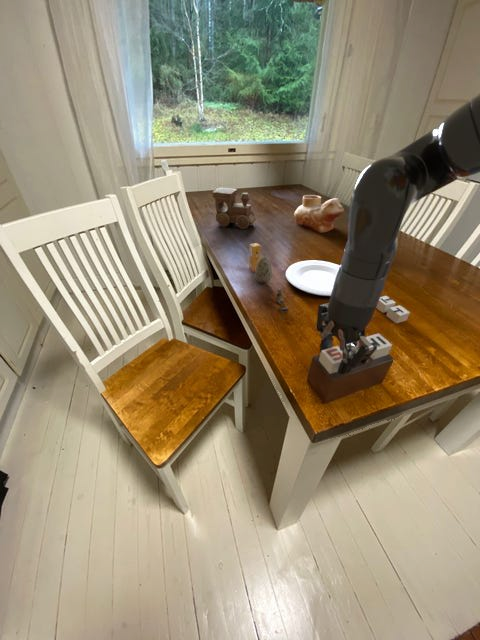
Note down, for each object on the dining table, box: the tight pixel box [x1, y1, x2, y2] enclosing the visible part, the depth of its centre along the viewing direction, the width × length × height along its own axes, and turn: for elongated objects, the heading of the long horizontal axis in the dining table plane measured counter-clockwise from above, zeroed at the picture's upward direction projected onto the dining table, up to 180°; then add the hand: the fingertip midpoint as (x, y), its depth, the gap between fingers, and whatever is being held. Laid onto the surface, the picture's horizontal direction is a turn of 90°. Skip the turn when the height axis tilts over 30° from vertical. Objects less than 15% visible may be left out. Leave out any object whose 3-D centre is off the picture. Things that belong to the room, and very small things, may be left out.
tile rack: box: [306, 353, 395, 405], centre depth 61 cm, size 7×16×8 cm, turn 111°
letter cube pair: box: [376, 295, 411, 324], centre depth 83 cm, size 10×4×3 cm, turn 21°
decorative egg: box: [254, 256, 273, 284], centre depth 94 cm, size 6×6×10 cm
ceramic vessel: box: [293, 194, 345, 234], centre depth 138 cm, size 14×26×15 cm, turn 41°
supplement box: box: [248, 242, 262, 273], centre depth 102 cm, size 3×4×10 cm
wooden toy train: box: [212, 187, 257, 230], centre depth 138 cm, size 20×11×17 cm, turn 72°
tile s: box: [319, 345, 343, 374], centre depth 56 cm, size 4×4×3 cm
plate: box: [285, 259, 340, 297], centre depth 98 cm, size 25×25×2 cm
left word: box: [347, 332, 393, 361], centre depth 58 cm, size 4×10×3 cm, turn 111°
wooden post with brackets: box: [275, 288, 289, 313], centre depth 86 cm, size 2×8×4 cm, turn 11°
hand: (333, 361), depth 56 cm, fingers open, 5 cm apart
